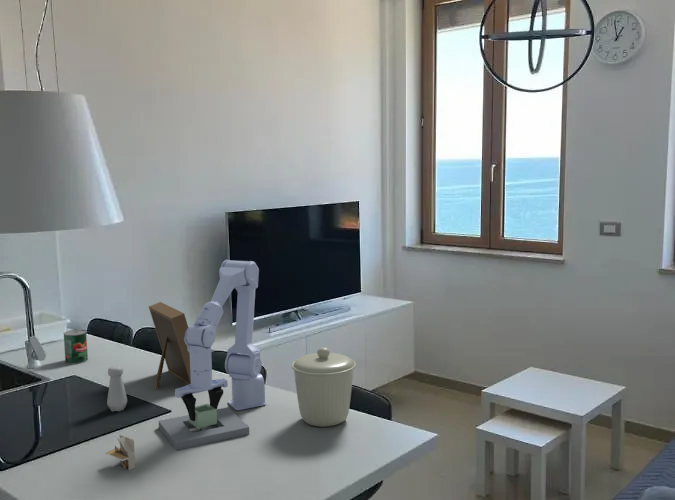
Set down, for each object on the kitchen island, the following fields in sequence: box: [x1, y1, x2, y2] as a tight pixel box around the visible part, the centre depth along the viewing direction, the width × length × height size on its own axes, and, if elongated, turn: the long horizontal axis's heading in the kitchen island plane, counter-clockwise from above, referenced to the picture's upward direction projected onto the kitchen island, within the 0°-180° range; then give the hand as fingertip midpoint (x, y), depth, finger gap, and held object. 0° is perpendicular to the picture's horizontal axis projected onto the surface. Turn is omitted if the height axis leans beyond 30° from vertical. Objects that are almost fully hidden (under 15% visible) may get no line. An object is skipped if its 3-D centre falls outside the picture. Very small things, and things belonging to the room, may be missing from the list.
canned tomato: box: [63, 329, 89, 365], centre depth 251 cm, size 8×8×11 cm
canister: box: [291, 346, 357, 427], centre depth 190 cm, size 18×18×21 cm
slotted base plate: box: [158, 407, 250, 451], centre depth 185 cm, size 20×17×5 cm
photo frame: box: [148, 301, 191, 391], centre depth 226 cm, size 15×22×25 cm
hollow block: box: [189, 403, 218, 429], centre depth 184 cm, size 6×6×4 cm
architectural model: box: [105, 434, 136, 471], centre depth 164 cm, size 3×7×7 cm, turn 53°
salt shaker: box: [106, 365, 128, 412], centre depth 201 cm, size 6×6×13 cm
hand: (203, 417), depth 184 cm, fingers closed on hollow block, 5 cm apart
